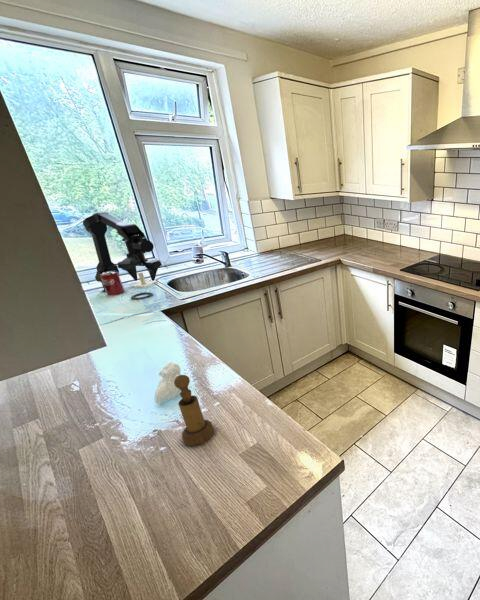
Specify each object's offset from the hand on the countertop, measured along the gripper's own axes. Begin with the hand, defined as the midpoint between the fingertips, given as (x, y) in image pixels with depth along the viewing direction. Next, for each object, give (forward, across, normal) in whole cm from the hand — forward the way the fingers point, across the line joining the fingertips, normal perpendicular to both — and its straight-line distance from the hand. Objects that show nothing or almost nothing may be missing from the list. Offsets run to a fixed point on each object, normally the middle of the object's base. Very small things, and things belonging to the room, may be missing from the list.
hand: (144, 280), depth 166 cm
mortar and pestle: (+10, +85, -89) cm, 123 cm away
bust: (+10, +67, -74) cm, 100 cm away
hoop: (+8, -4, -1) cm, 9 cm away
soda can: (+10, -22, +4) cm, 24 cm away
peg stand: (+9, -18, +17) cm, 26 cm away
